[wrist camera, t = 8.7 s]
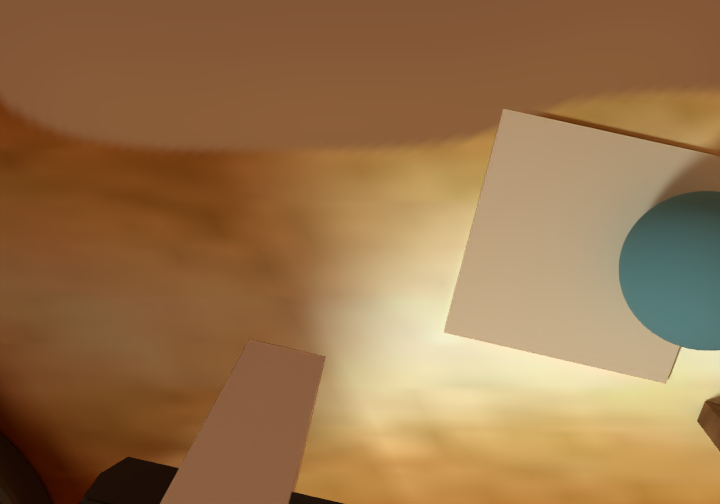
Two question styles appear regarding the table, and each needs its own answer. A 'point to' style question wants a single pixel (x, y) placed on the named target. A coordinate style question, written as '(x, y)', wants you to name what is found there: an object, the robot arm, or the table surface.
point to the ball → (676, 270)
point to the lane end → (711, 422)
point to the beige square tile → (567, 242)
